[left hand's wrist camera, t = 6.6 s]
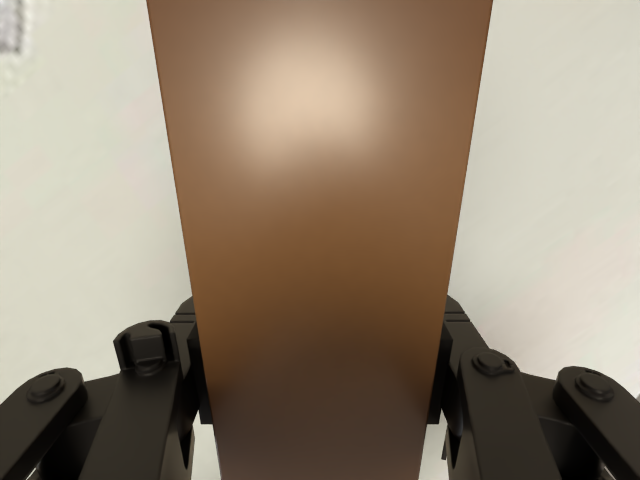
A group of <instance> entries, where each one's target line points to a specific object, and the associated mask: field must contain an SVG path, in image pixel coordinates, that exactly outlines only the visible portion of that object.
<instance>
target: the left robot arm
mask: <svg viewBox="0 0 640 480" xmlns="http://www.w3.org/2000/svg"><path fill="white" fill-rule="evenodd" d="M113 343H114V347H115V351H116V354H117V358H118V362H119V365H120V369H121V371H120V373H119V374H116V375H112V376H108V377H104V378H99V379H95V380H90V381H86V382H84V380H83V377H82V374H81V373H80V372H79V371H78V370H77V369H73V368H59V369H53V370H50V371H47V372H44V373H41V374H39V375H37V376H35V377H34V378H32V379H30V380H28V381H27V382H25V383H24V384H23V385H21V386H20V387H19V388H17V389H16V390H15V391H14V392H13V393H12V394H11V395H10V396H9V397H8V398H7V399H6V400H5V401H4V402H3V403H2V404H1V405H0V480H26V479H27V477H28V476H29V475H30V474H31V472H32V471H33V470H34V468H36V470H35V471H34V472H33V474H32V475H31V476H30V477H29V478H28V479H27V480H191V474H192V463H193V453H194V442H195V436H194V430H193V425H192V424H193V422H194V419H195V417H196V414H197V412H198V410H199V415H200V421H201V424H213V423H212V417H211V410H210V404H209V398H208V391H207V385H206V378H205V372H204V366H203V359H202V353H201V347H200V340H199V334H198V327H197V321H196V315H195V308H194V302H193V296H192V297H190V298H189V299H187V300H186V301H185V302H183V303H182V304H181V306H180V307H179V309H178V310H177V311H176V313H175V315H174V316H173V317H172V319H171V320H170V323H169V322H166V321H162V320H150V321H146V322H141V323H138V324H135V325H133V326H131V327H128V328H127V329H125V330H124V331H122V332H121V333H119V334H118V335H117V337H116V338H115V339H114V341H113ZM441 408H442V410H443V413H444V416H445V418H446V421H447V423H448V425H447V430H446V435H445V441H444V446H443V451H442V458H441V459H442V460H446V457H447V463H448V473H449V480H614V479H613V478H612V477H611V476H610V475H609V473H608V472H607V471H606V469H605V468H604V467H605V466H606V467H607V469H608V470H609V471H610V473H611V474H612V475H613V476H614V478H615V479H616V480H640V403H639V402H638V401H637V400H636V399H635V398H634V397H633V396H632V395H631V394H630V393H629V392H628V391H627V390H626V389H625V388H624V387H622V386H621V385H620V384H618V383H617V382H616V381H615V380H613V379H612V378H610V377H608V376H606V375H604V374H602V373H600V372H598V371H595V370H592V369H588V368H585V367H577V366H571V367H564V368H563V369H562V370H560V371H559V373H558V376H557V379H556V380H552V379H547V378H543V377H538V376H534V375H529V374H526V373H522V372H520V370H519V368H518V367H517V365H516V364H515V362H514V361H512V360H511V359H510V358H509V357H507V356H506V355H504V354H502V353H500V352H498V351H496V350H493V349H489V347H488V346H487V344H486V343H485V341H484V340H483V338H482V337H481V336H480V334H479V333H478V331H477V330H476V328H475V327H474V325H473V324H472V322H470V319H469V318H468V316H467V315H466V314H465V312H464V310H463V309H462V307H461V306H460V304H459V303H458V302H457V301H456V300H454V299H453V298H451V297H450V296H448V295H447V299H446V305H445V312H444V318H443V324H442V331H441V337H440V344H439V350H438V356H437V363H436V369H435V376H434V382H433V388H432V395H431V401H430V408H429V414H428V421H427V424H439V420H440V414H441Z"/></svg>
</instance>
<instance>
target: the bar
mask: <svg viewBox="0 0 640 480" xmlns="http://www.w3.org/2000/svg"><path fill="white" fill-rule="evenodd" d="M146 1H147V8H148V14H149V20H150V27H151V33H152V40H153V46H154V52H155V59H156V65H157V72H158V78H159V84H160V91H161V97H162V104H163V110H164V116H165V123H166V129H167V136H168V142H169V148H170V155H171V161H172V168H173V174H174V180H175V187H176V193H177V199H178V206H179V212H180V219H181V225H182V231H183V238H184V244H185V251H186V257H187V263H188V270H189V276H190V283H191V289H192V295H193V302H194V308H195V315H196V321H197V327H198V334H199V340H200V347H201V353H202V359H203V366H204V372H205V378H206V385H207V391H208V398H209V404H210V410H211V417H212V423H213V430H214V436H215V442H216V449H217V455H218V462H219V468H220V474H221V480H418V478H419V472H420V465H421V459H422V453H423V446H424V440H425V433H426V427H427V421H428V414H429V408H430V401H431V395H432V388H433V382H434V376H435V369H436V363H437V356H438V350H439V344H440V337H441V331H442V324H443V318H444V312H445V305H446V299H447V292H448V286H449V280H450V273H451V267H452V260H453V254H454V247H455V241H456V235H457V228H458V222H459V215H460V209H461V203H462V196H463V190H464V183H465V177H466V171H467V164H468V158H469V151H470V145H471V138H472V132H473V126H474V119H475V113H476V106H477V100H478V94H479V87H480V81H481V74H482V68H483V62H484V55H485V49H486V42H487V36H488V29H489V23H490V17H491V10H492V4H493V0H146Z"/></svg>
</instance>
